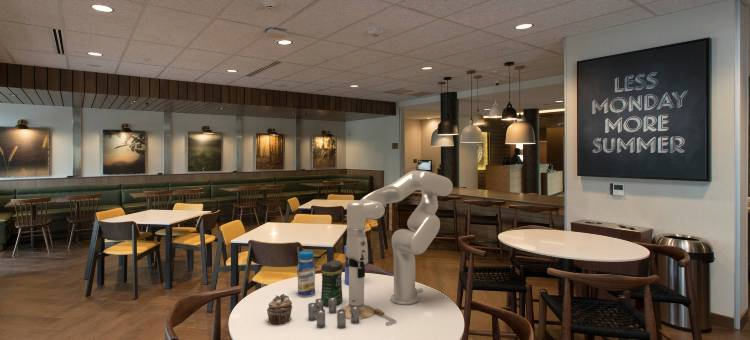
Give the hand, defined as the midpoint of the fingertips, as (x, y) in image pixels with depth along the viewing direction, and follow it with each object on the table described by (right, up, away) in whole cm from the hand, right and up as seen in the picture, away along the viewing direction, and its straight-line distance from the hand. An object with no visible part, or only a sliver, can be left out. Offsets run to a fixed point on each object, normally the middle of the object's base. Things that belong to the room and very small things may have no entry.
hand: (356, 275), depth 164 cm
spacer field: (-9, -16, -7) cm, 20 cm away
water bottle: (-3, -15, +39) cm, 42 cm away
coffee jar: (-11, -15, +11) cm, 22 cm away
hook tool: (+10, -16, -6) cm, 20 cm away
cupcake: (-30, -16, -8) cm, 35 cm away
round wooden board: (0, -16, 0) cm, 16 cm away
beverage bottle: (-24, -15, +22) cm, 36 cm away
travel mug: (0, -13, 0) cm, 13 cm away
